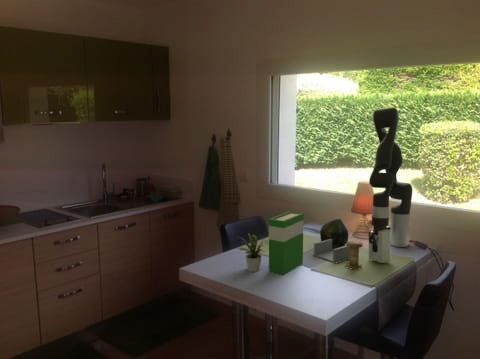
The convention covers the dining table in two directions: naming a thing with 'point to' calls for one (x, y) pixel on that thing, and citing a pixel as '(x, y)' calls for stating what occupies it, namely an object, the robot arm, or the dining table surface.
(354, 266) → the bobbin
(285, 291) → the dining table surface
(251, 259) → the house plant
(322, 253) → the notch cradle
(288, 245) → the hardback book
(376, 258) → the skincare box
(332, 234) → the squash
